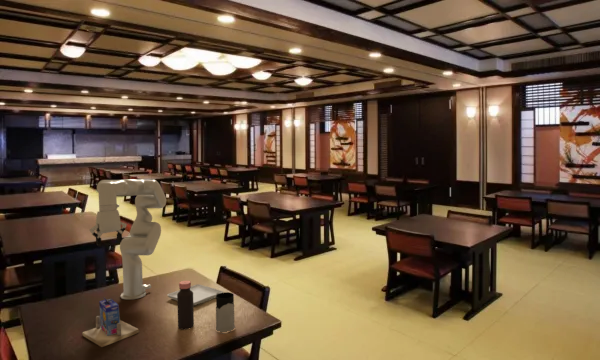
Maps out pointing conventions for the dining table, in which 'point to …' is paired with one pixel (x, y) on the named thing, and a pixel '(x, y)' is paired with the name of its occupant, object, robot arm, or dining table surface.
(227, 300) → the glass holder
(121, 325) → the pin board
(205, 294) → the salad plate
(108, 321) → the ink cartridge box
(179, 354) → the dining table surface
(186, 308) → the bottle
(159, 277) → the dining table surface
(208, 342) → the dining table surface
